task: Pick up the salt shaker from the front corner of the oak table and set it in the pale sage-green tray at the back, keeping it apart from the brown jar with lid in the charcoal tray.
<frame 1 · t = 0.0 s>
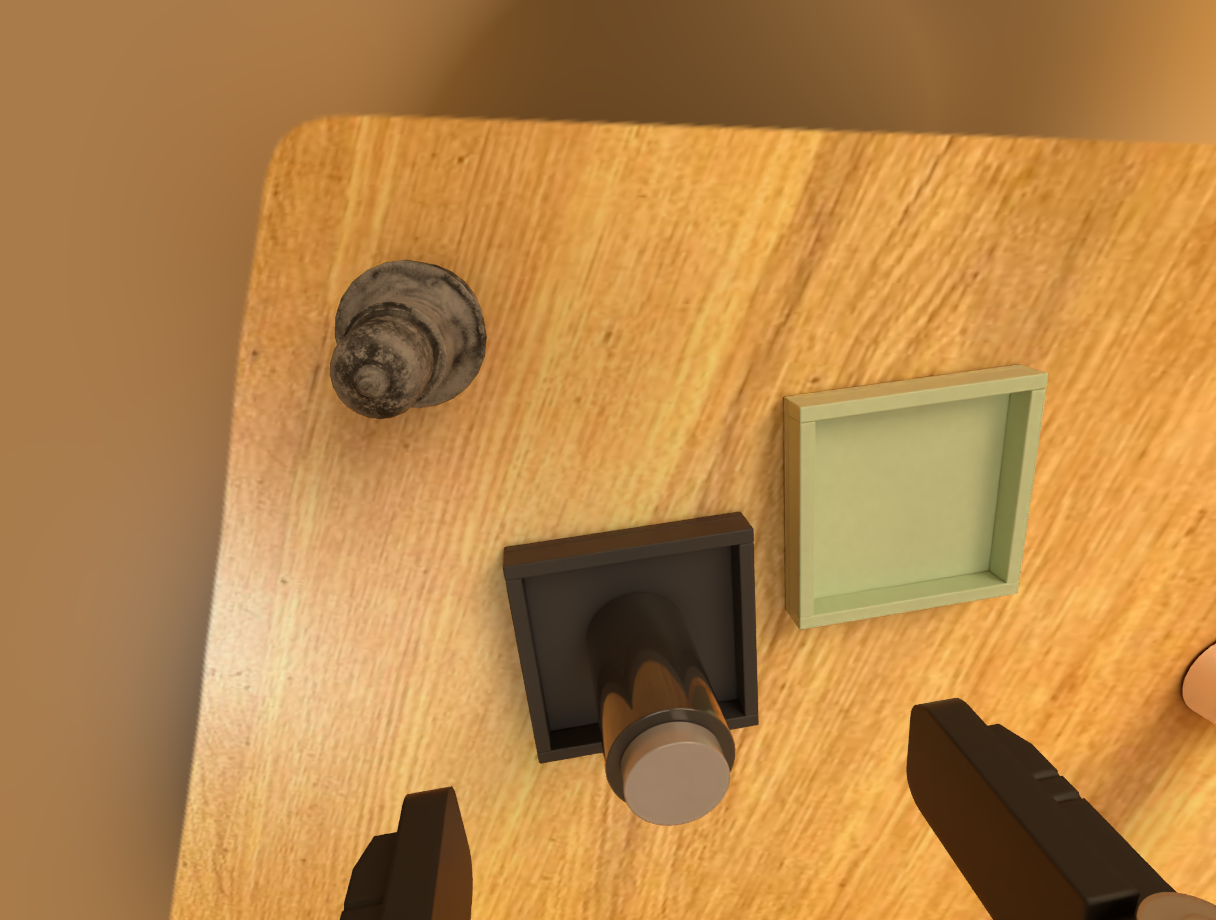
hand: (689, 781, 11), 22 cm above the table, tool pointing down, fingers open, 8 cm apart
light tray: (896, 492, 35), on the table
brown jar with lid: (636, 635, 36), point 1 cm above the table, touching dark tray
dark tray: (634, 629, 36), on the table
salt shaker: (424, 323, 30), on the table
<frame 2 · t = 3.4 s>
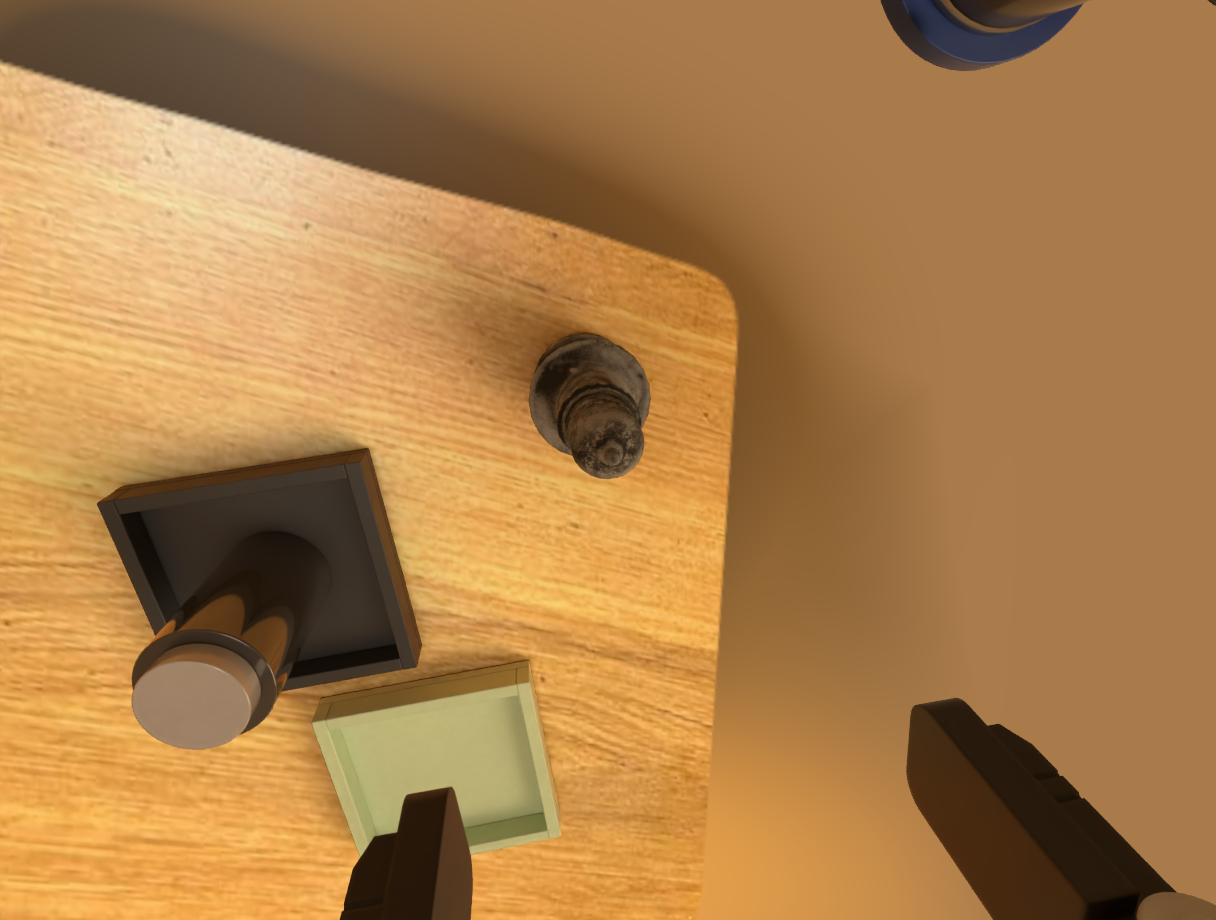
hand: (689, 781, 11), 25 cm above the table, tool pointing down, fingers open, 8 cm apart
light tray: (447, 757, 42), on the table
brown jar with lid: (278, 577, 36), point 1 cm above the table, touching dark tray
dark tray: (282, 571, 36), on the table
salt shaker: (583, 382, 35), on the table
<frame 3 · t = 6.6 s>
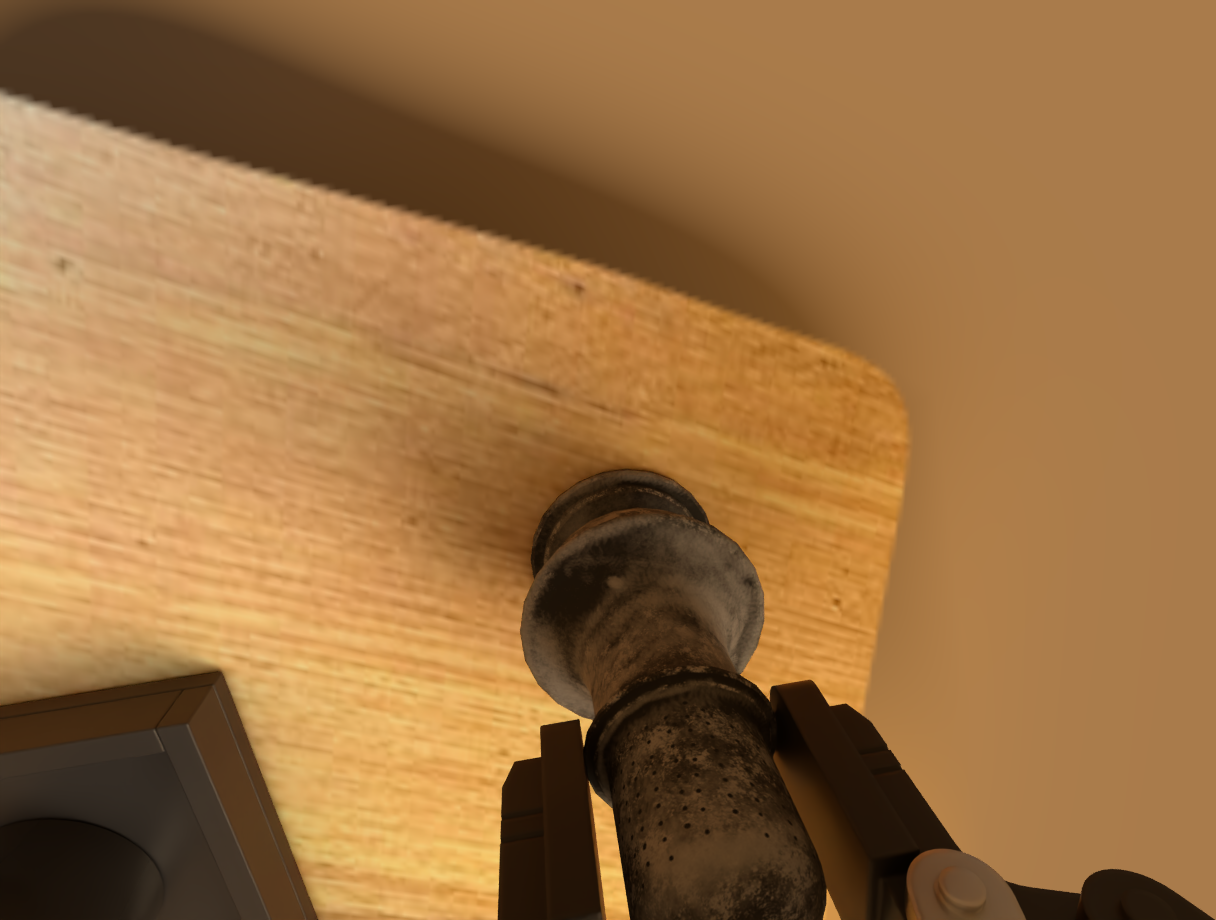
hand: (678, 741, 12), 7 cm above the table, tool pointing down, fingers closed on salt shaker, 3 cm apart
brown jar with lid: (63, 887, 20), point 1 cm above the table, touching dark tray
dark tray: (76, 868, 20), on the table
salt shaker: (622, 551, 19), on the table, touching gripper
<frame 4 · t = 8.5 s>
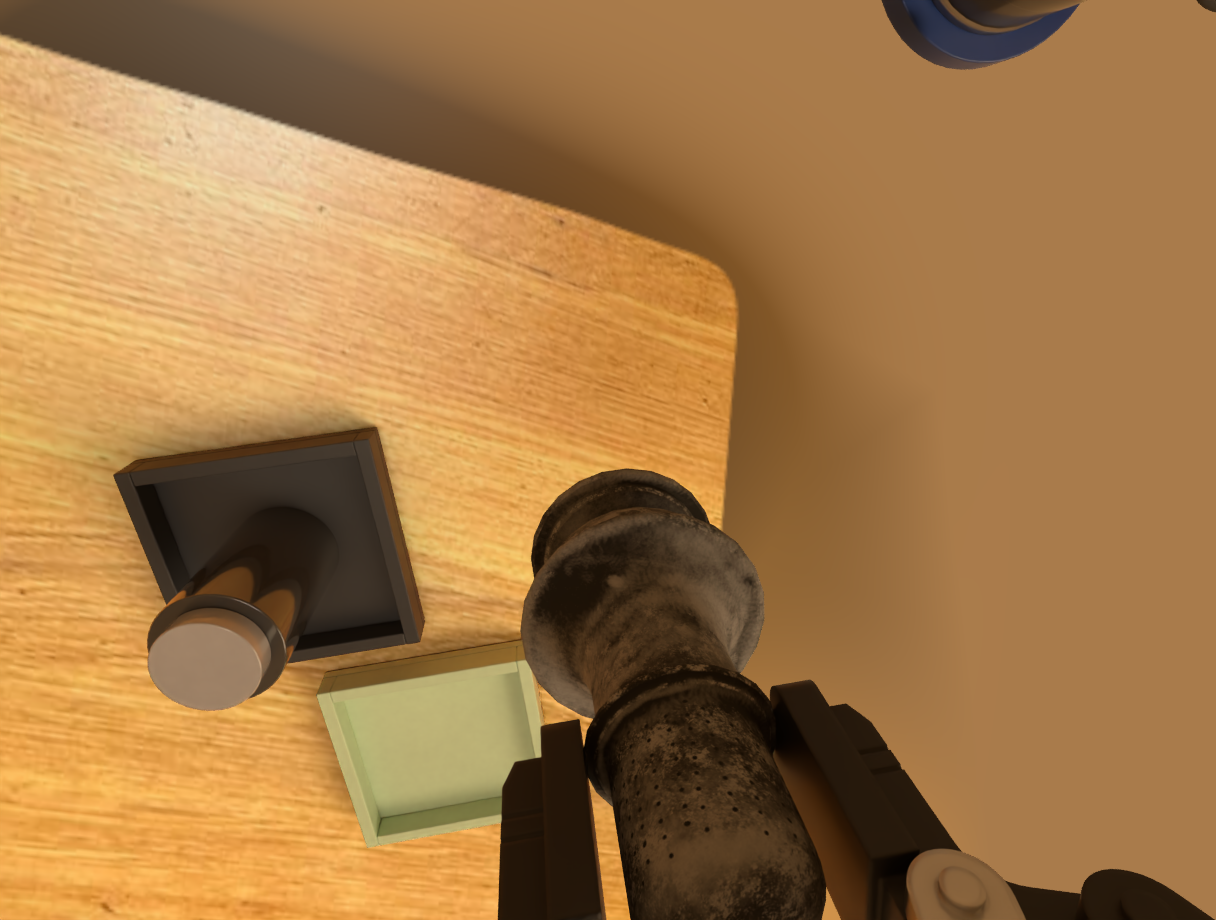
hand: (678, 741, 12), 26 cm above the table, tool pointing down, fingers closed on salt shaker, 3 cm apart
light tray: (448, 733, 43), on the table
brown jar with lid: (287, 551, 37), point 1 cm above the table, touching dark tray
dark tray: (290, 546, 37), on the table
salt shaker: (622, 550, 19), point 18 cm above the table, touching gripper
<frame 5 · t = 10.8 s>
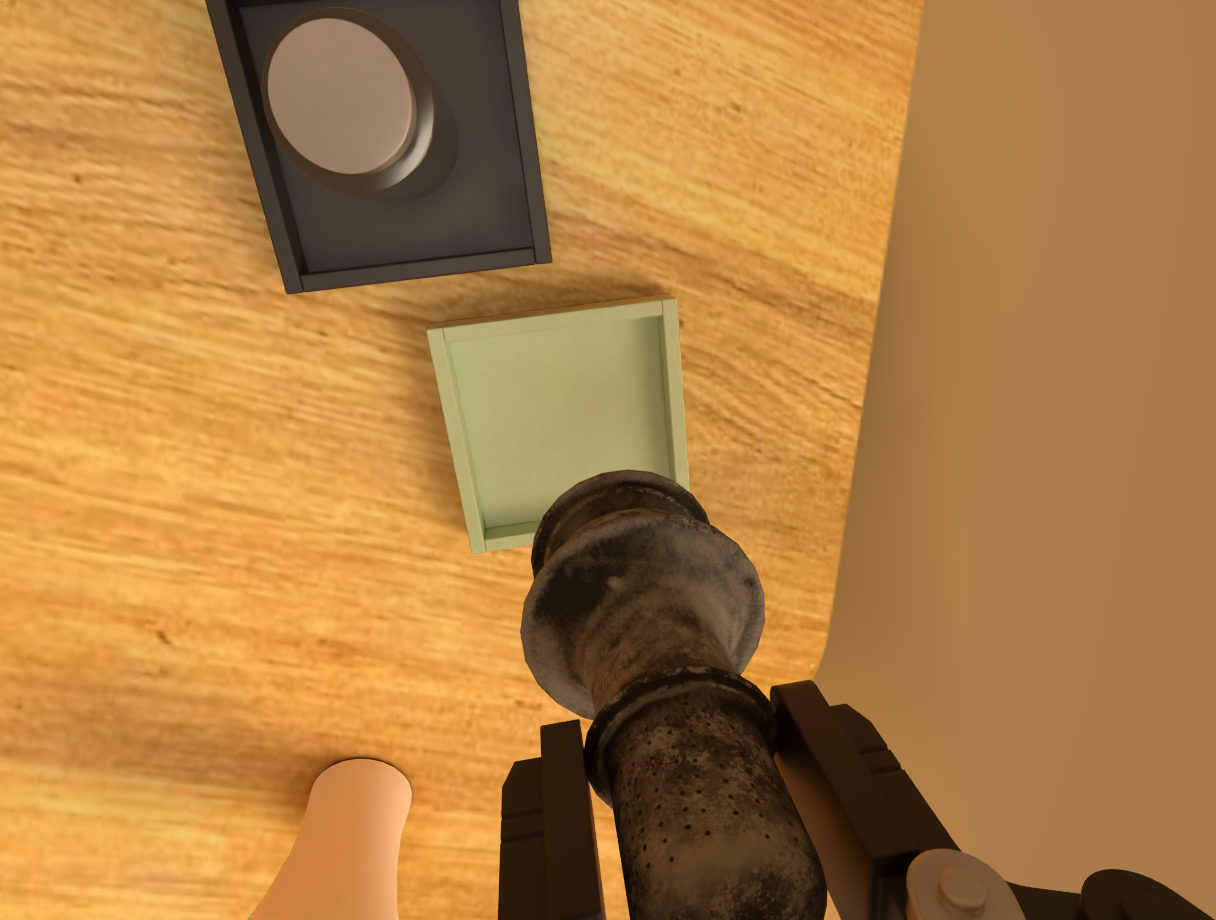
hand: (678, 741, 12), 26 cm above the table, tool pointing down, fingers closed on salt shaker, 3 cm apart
light tray: (566, 421, 37), on the table
brown jar with lid: (397, 136, 30), point 1 cm above the table, touching dark tray
cup: (363, 792, 44), on the table
dark tray: (399, 137, 31), on the table
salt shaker: (622, 551, 19), point 18 cm above the table, touching gripper
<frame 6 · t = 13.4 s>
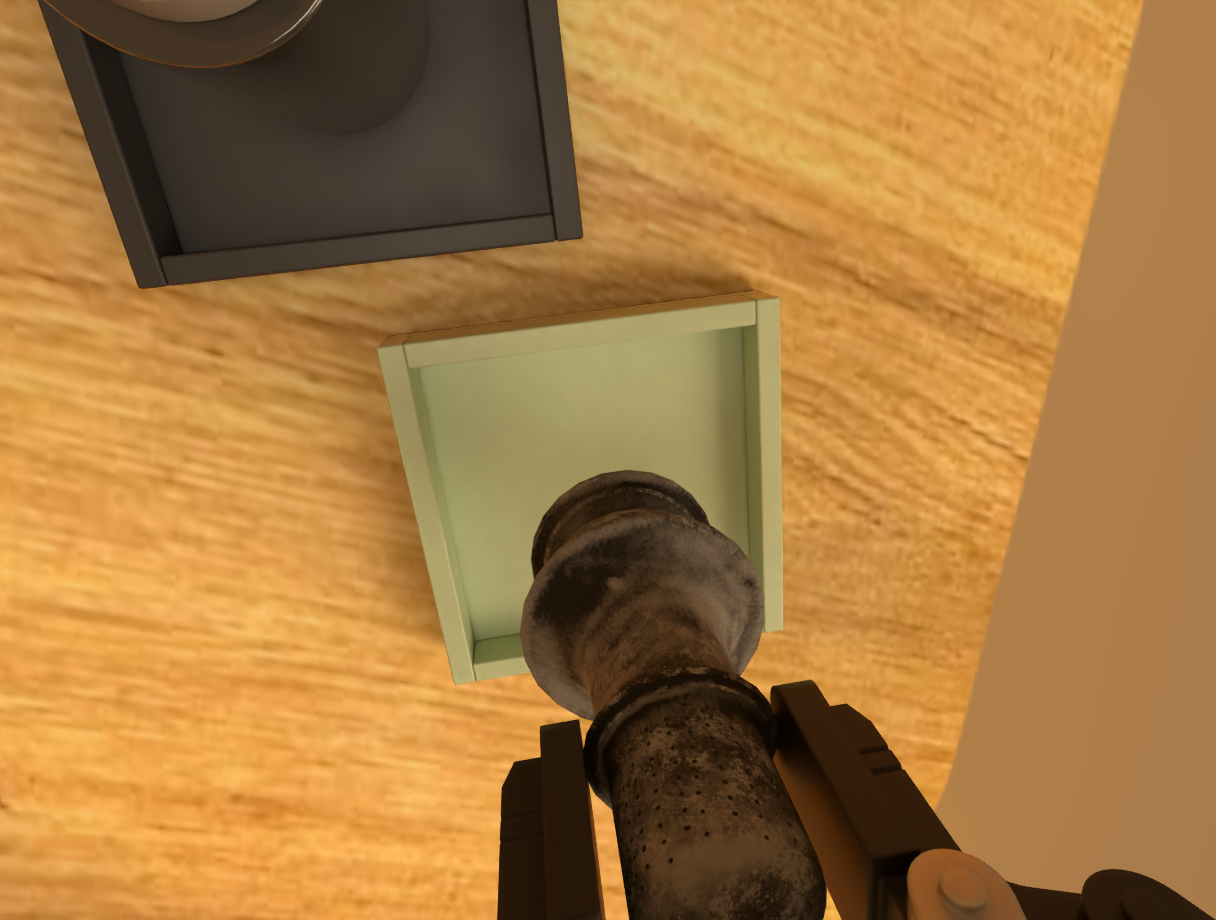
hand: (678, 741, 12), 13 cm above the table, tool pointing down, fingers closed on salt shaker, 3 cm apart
light tray: (598, 483, 24), on the table
brown jar with lid: (324, 22, 18), point 1 cm above the table, touching dark tray
dark tray: (330, 28, 18), on the table
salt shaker: (622, 552, 19), point 6 cm above the table, touching gripper
when the fingers open (8 cm above the table, at t = 15.1 s): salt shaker stays where it is, resting on light tray.
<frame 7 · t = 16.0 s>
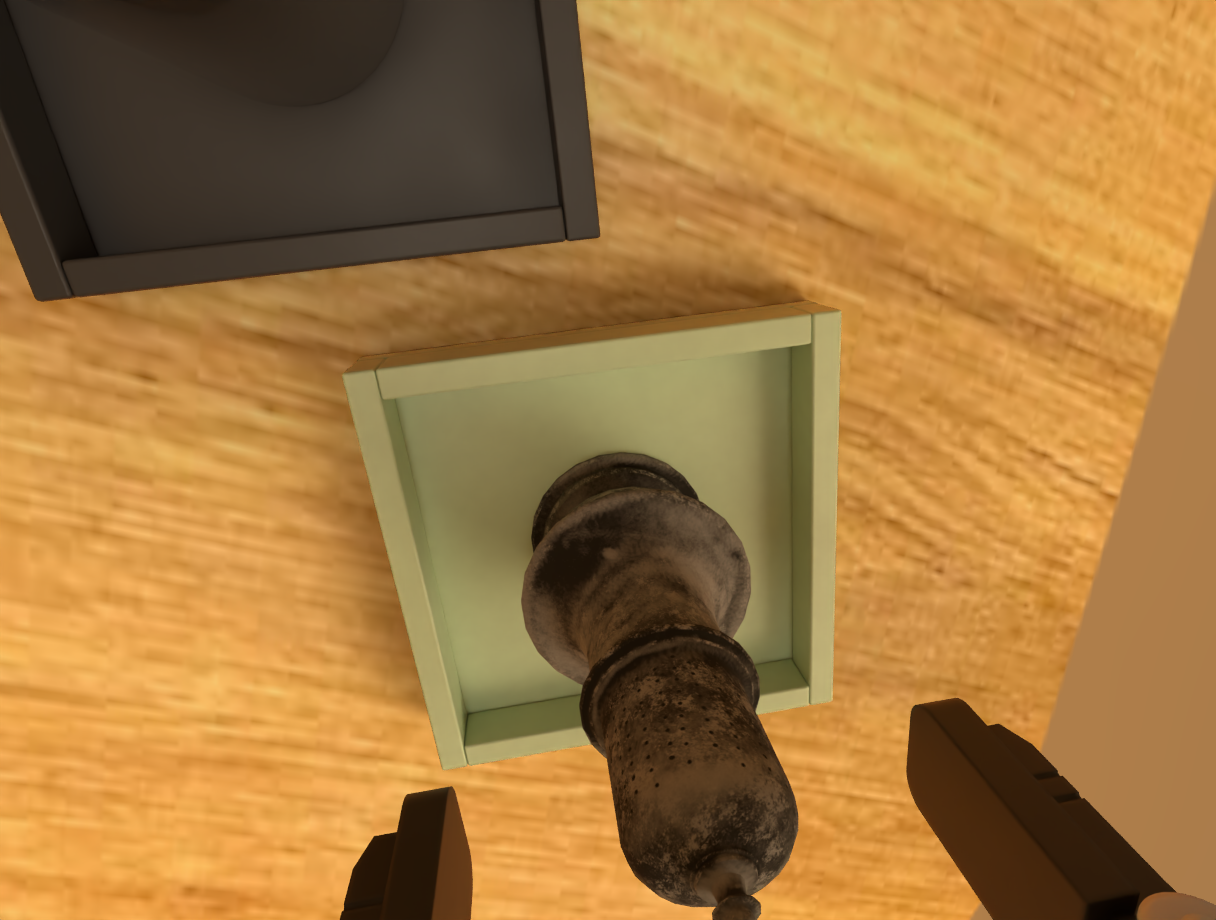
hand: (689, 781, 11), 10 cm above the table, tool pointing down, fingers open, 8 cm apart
light tray: (613, 529, 20), on the table
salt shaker: (618, 531, 20), resting on light tray
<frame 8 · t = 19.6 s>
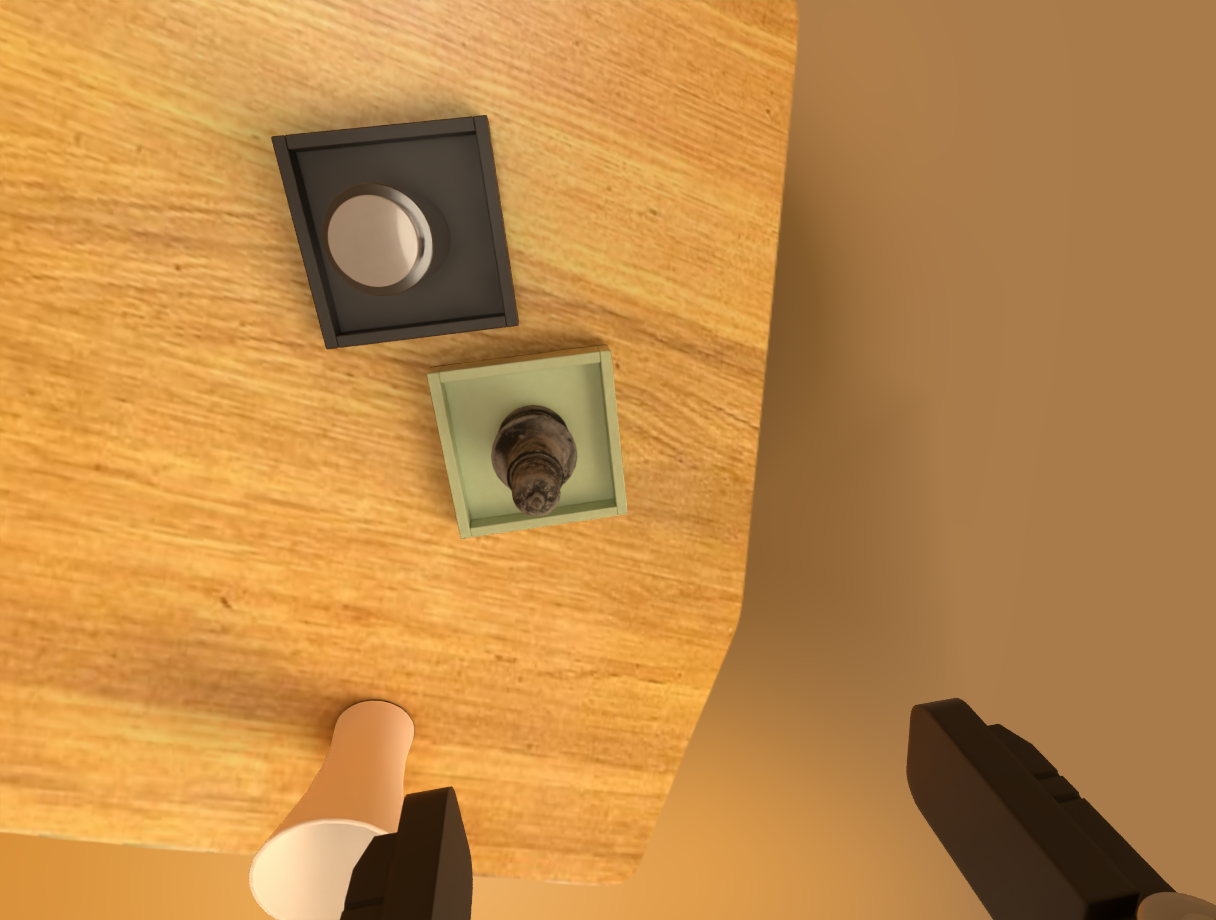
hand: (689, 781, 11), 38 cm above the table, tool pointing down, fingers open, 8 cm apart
light tray: (532, 439, 49), on the table
brown jar with lid: (406, 236, 42), point 1 cm above the table, touching dark tray
cup: (375, 728, 56), on the table
dark tray: (408, 236, 43), on the table
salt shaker: (533, 439, 48), resting on light tray
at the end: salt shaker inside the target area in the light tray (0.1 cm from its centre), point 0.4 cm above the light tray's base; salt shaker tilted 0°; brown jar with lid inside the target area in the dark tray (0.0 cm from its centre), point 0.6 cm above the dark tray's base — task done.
